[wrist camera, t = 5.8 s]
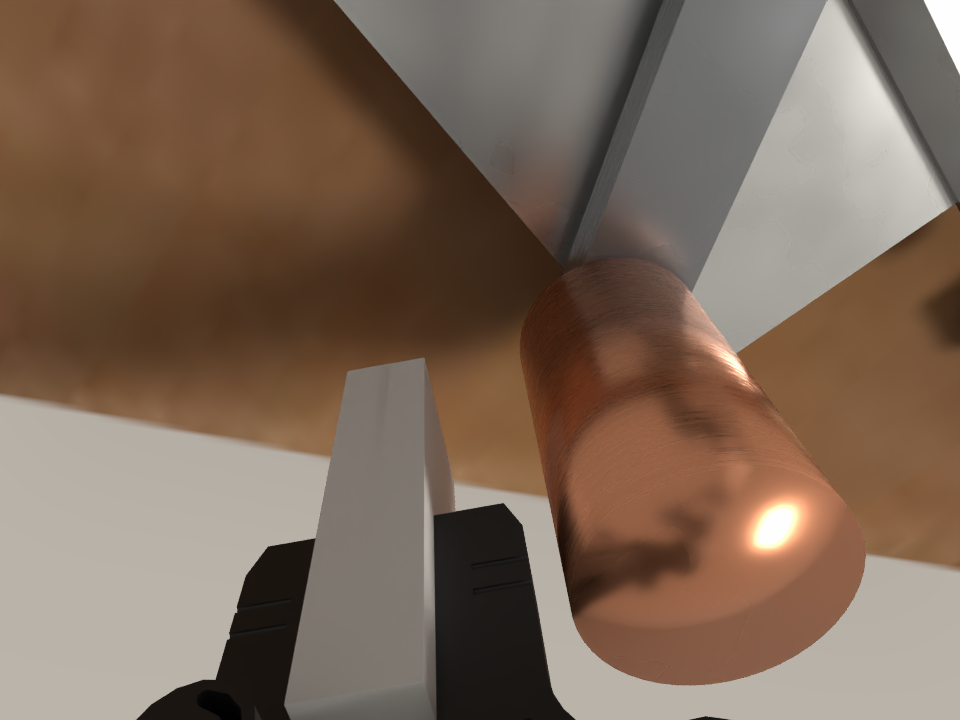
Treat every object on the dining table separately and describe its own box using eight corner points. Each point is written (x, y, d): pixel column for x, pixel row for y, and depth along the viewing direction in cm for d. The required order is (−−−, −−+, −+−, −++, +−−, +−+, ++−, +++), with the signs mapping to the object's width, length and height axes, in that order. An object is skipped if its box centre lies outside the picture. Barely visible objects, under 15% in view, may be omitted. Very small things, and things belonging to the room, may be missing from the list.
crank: (739, -427, 10) (1277, -1093, 4) (1005, -306, 11) (1842, -677, 5) (474, 366, 16) (501, 656, 10) (661, 409, 17) (804, 707, 10)
